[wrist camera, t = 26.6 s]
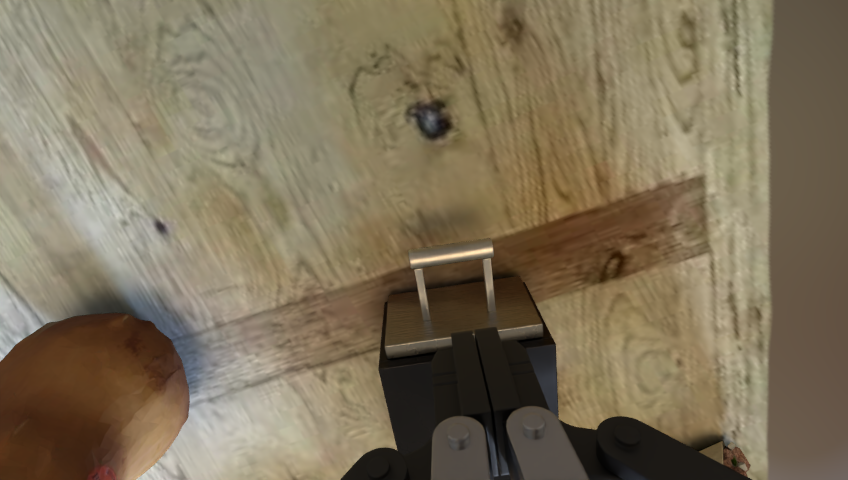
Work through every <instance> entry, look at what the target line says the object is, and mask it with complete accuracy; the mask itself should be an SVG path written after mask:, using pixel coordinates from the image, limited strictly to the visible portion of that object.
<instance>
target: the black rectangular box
mask: <svg viewBox="0 0 848 480" xmlns="http://www.w3.org/2000/svg"><path fill="white" fill-rule="evenodd" d="M522 283H523V285H524V287H525V289H526V291H527V293H528V295H529V297H530V299H531V301H532V303H533V305H534V307H535V309H536V311H537V313H538V315H539V318H540V320H541V322H542V324H543V337H541V338H534V339H529V341H525V342H518V343H520V344H521V345H522V346H523V347H524V348H525V349H526V351H527V353H528V356H529V358H530V361H531V363H532V366H533V368H534V372H535V374H536V376H537V379H538V381H539V384H540V386H541V389H542V391H543V394H544V397H545V399H546V402H547V404H548V407H549V409H550V411H551V412H552V413H554V414H555V415H556V416H557V417H558V393H557V367H556V344H555V342H554V340H553V338H552V336H551V334H550V332H549V330H548V328H547V326H546V324H545V322H544V320H543V318H542V316H541V314H540V312H539V310H538V308H537V306H536V304H535V302H534V300H533V298H532V296H531V294H530V292H529V290H528V288H527V286H526V284H525V282H522ZM387 309H388V302H386V303H385V305H384V315H383V326H382V337H381V348H380V359H379V373H380V377H381V382H382V386H383V390H384V394H385V399H386V403H387V407H388V411H389V416H390V420H391V424H392V428H393V433H394V437H395V441H396V445H397V450H398V452H400V453H401V454H402V455H403V456H404V455H406V454H409V453H411V452H413V451H415V450H417V449H419V448H421V447H422V446H424V445H425V444H426V443H427V442H428V441H429V440H430V438H431V437H432V435H433V432H434V430H435V411H434V397H433V383H432V370H431V362H432V360H433V358H434V356H435V354H434V355H427V356H420V357H413V358H406V359H400V358H394V359H387V355H386V351H385V335H386V322H387ZM496 458H497V455H496ZM497 467H498V475H499V476H495V477H494V480H511V479H510V475H501V473H500V469H499V464H498V460H497Z"/></svg>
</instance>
